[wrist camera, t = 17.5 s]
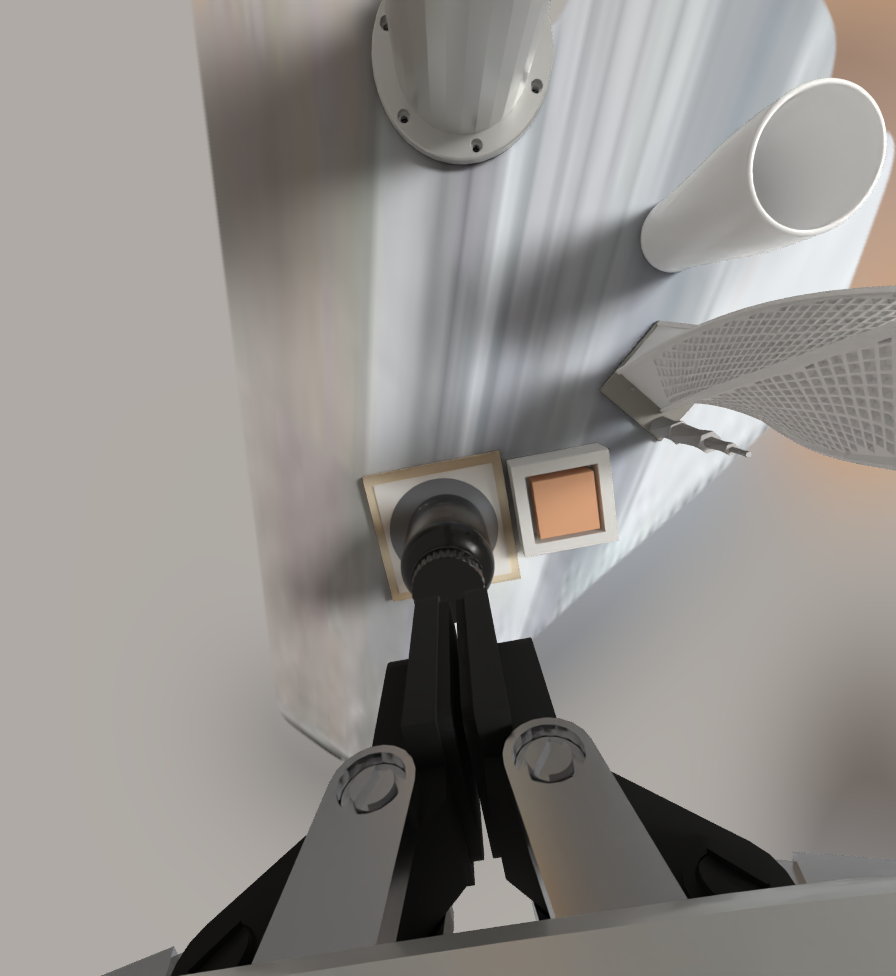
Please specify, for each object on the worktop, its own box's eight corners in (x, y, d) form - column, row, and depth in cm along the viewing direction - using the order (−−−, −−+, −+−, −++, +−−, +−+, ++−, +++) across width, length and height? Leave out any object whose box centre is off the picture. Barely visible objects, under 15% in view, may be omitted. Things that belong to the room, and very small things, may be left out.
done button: (528, 476, 41) (532, 482, 39) (586, 465, 40) (593, 471, 39) (536, 530, 42) (540, 539, 40) (592, 520, 42) (600, 528, 40)
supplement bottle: (499, 540, 42) (521, 609, 31) (434, 577, 43) (430, 657, 32) (460, 476, 41) (466, 523, 29) (393, 515, 42) (373, 576, 30)
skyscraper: (586, 379, 40) (886, 424, 13) (653, 297, 38) (1160, 150, 11) (658, 440, 41) (1065, 596, 14) (726, 364, 40) (1333, 375, 13)
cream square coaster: (363, 476, 42) (361, 479, 41) (498, 450, 41) (499, 452, 40) (394, 597, 45) (392, 603, 44) (519, 574, 44) (521, 579, 43)
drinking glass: (654, 301, 38) (782, 267, 24) (612, 225, 37) (721, 139, 22) (730, 248, 37) (912, 178, 23) (690, 167, 36) (856, 38, 21)
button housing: (506, 460, 42) (510, 467, 39) (597, 442, 41) (608, 448, 38) (520, 544, 44) (525, 557, 41) (607, 528, 43) (618, 540, 40)
